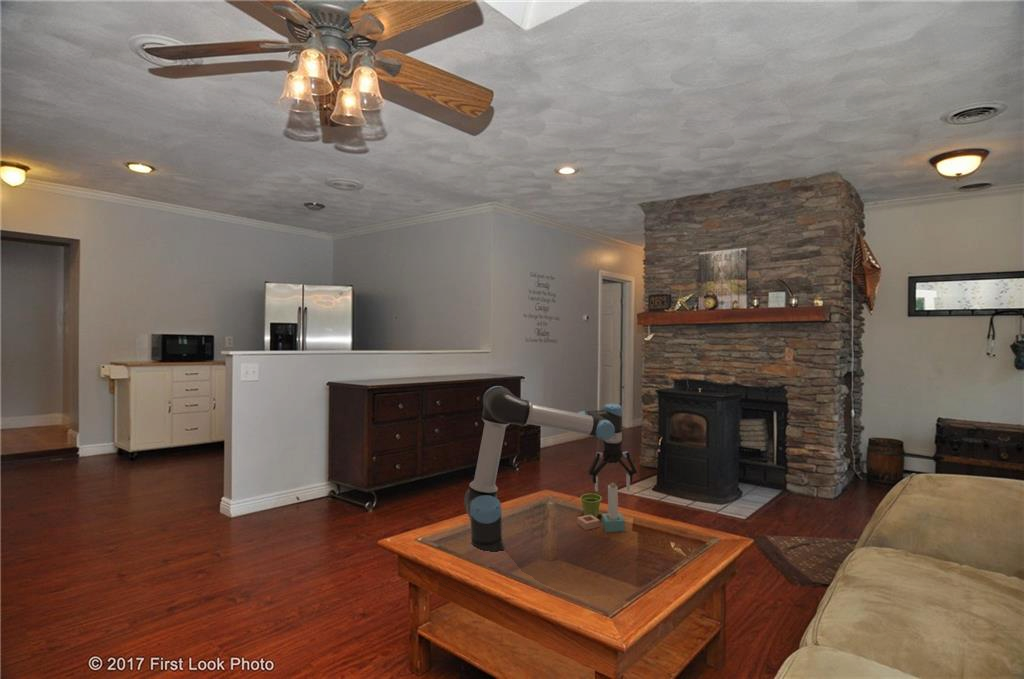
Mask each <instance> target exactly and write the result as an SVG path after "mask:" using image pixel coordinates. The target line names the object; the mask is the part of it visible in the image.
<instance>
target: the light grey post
mask: <svg viewBox="0 0 1024 679" xmlns="http://www.w3.org/2000/svg"><path fill="white" fill-rule="evenodd" d="M607 513H608V519H609V520H616V519H618V513H619V490H618V486H617V485H616V483H615V482H611V483H610V484H607Z"/></svg>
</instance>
